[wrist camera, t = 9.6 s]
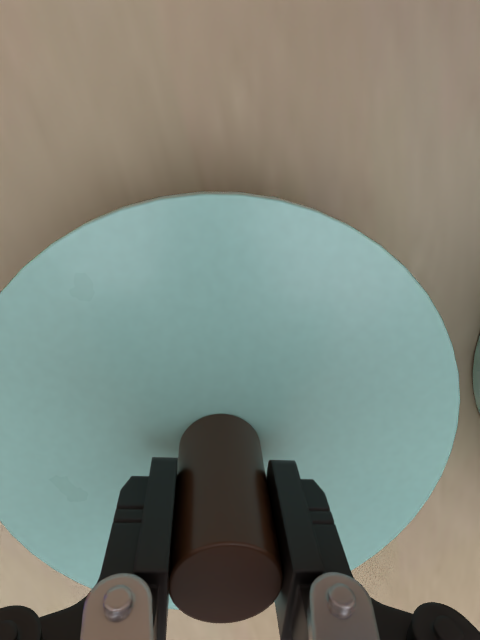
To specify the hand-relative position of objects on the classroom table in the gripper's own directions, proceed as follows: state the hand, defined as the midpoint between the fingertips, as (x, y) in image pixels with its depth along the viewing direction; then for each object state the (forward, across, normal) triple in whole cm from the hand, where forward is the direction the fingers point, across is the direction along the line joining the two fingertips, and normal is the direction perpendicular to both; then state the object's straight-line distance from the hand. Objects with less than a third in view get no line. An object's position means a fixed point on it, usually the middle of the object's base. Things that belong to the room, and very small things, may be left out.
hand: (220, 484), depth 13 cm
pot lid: (+2, 0, 0) cm, 2 cm away
